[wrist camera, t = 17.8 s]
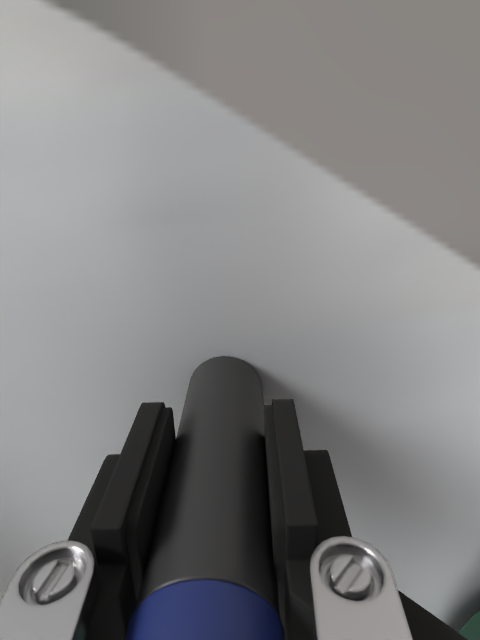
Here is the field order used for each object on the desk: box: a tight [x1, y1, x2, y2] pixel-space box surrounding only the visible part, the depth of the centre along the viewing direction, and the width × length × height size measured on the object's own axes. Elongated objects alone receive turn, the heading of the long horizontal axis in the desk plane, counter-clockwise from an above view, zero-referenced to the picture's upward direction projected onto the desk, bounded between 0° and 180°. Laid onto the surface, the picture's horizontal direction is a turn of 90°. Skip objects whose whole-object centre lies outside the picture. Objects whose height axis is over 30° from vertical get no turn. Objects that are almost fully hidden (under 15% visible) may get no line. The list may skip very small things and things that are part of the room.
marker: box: [125, 356, 285, 640], centre depth 9 cm, size 2×2×10 cm
